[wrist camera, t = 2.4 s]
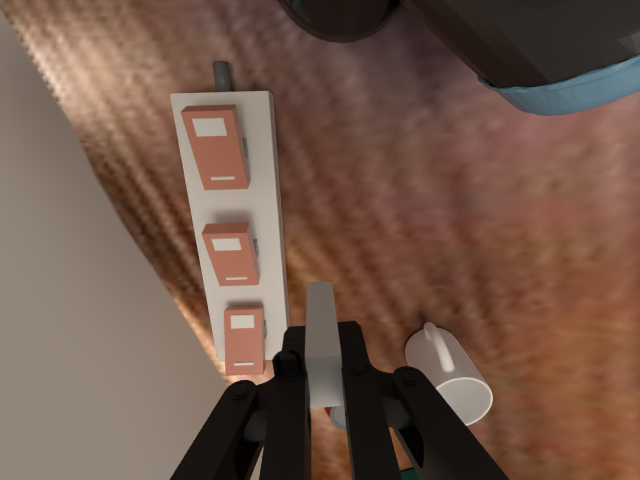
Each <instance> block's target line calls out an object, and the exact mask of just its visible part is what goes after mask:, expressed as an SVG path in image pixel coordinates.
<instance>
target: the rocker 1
mask: <svg viewBox="0 0 640 480" xmlns="http://www.w3.org/2000/svg"><path fill="white" fill-rule="evenodd" d="M181 116H182V119H183V122H184V125H185V129H186V132H187V135H188V138H189V142H190V145H191V148H192V152H193V155H194V158H195V161H196V165H197V168H198V171H199V174H200V178H201V181H202V184H203V187H204V190H231V189H248V187H249V183H250V176H249V171H248V166H247V160H246V155H245V150H244V144H243V139H242V134H241V129H240V123H239V118H238V113H237V107H236V104H233V105H198V106H186V107H185V108H184V109H183V110H182V111H181Z"/></svg>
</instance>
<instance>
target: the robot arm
mask: <svg viewBox="0 0 640 480" xmlns="http://www.w3.org/2000/svg"><path fill="white" fill-rule="evenodd" d="M280 2H281V4H282V6H283V7H284V9H285V10H286V12H287V13H288V14H289V16H290V17H291V18H292V19H293V20H294V21H295V22H296V23H297V24H298V25H299V26H300V27H301V28H302V29H304V30H305V31H307V32H308V33H310V34H311V35H313V36H315V37H317V38H320V39H323V40H326V41H330V42H339V43H344V42H353V41H357V40H360V39H363V38H366V37H368V36H370V35H372V34H374V33H375V32H377V31H378V30H380V29H381V28H382V27H384V26H385V25H386V24H387V23H388V22H389V21H390V20H391V19H392V18H393V17H394V16H395V14H396V13H397V12H398V10H399V9H400V8H401V6H402V5H404V6H405V7H406V8H407V9H408V10H409V11H410V12H411V13H413V14H414V15H415V16H416V17H417V18H418V19H419V20H420V21H421V22H422V23H423V24H424V25H425V26H426V27H427V28H428V29H429V30H430V31H432V32H433V33H434V34H435V35H436V36H437V37H438V38H439V39H440V40H441V41H442V42H443V43H444V44H445V45H446V46H447V47H448V48H449V49H451V50H452V51H453V52H454V53H455V54H456V55H457V56H458V57H459V58H460V59H461V60H462V61H463V62H464V63H465V64H466V65H467V66H468V67H469V68H471V69H472V70H473V71H474V72H475V73H476V74H477V75H478V80H479V81H480V82H481V83H482V84H483V85H484V86H485V87H487V88H488V89H491V90H493V91H496V92H498V93H499V94H500V95H501V96H502V97H504V98H505V99H506V100H507V101H508V102H510V103H511V104H512V105H513V106H514V107H516V108H517V109H519V110H521V111H523V112H526V113H533V114H536V115H543V116H555V115H565V114H571V113H577V112H581V111H585V110H589V109H592V108H596V107H599V106H602V105H605V104H607V103H610V102H613V101H616V100H618V99H621V98H623V97H626V96H628V95H631V94H633V93H635V92H637V91H640V0H280ZM272 363H273V369H274V375H275V376H274V377H273V378H272V379H270V380H269V381H267V382H265V383H262V384H259V385H255V384H254V383H253V382H252V381H249V380H240V381H237V382H235V383H233V384H232V385H230V386H229V387H228V388H227V389H226V390H225V392H224V393H223V395H222V397H221V398H220V400H219V401H218V403H217V405H216V406H215V408H214V409H213V411H212V413H211V414H210V416H209V417H208V419H207V421H206V422H205V424H204V425H203V427H202V429H201V430H200V432H199V433H198V435H197V437H196V438H195V440H194V441H193V443H192V445H191V446H190V448H189V449H188V451H187V453H186V454H185V456H184V458H183V459H182V461H181V463H180V464H179V466H178V467H177V469H176V470H175V472H174V474H173V475H172V477H171V478H170V480H250V478H251V475H252V473H253V470H254V467H255V465H256V463H257V460H258V458H259V455H260V452H261V450H262V447H263V445H264V450H263V456H262V463H261V470H260V476H259V480H311V413H310V407H311V408H321V407H334V406H344V407H345V422H346V430H347V437H348V446H349V455H350V464H351V473H352V480H402V477H401V474H400V470H399V466H398V462H397V458H396V454H395V450H394V446H393V443H392V439H391V435H390V431H389V427H392V428H393V429H394V432H395V434H396V436H397V437H398V439H399V441H400V443H401V445H402V447H403V448H404V450H405V452H406V454H407V456H408V458H409V460H410V461H411V463H412V465H413V467H414V469H415V471H416V472H417V474H418V476H419V478H420V480H509V478H508V477H507V476H506V475H505V474H504V472H503V471H502V470H501V469H500V467H499V466H498V465H497V464H496V462H495V461H494V460H493V459H492V457H491V456H490V455H489V454H488V452H487V451H486V450H485V449H484V448H483V446H482V445H481V444H480V443H479V441H478V440H477V439H476V438H475V436H474V435H473V434H472V433H471V431H470V430H469V429H468V428H467V426H466V425H465V424H464V423H463V422H462V420H461V419H460V418H459V417H458V415H457V414H456V413H455V412H454V410H453V409H452V408H451V407H450V405H449V404H448V403H447V402H446V400H445V399H444V398H443V397H442V395H441V394H440V393H439V392H438V391H437V389H436V388H435V387H434V386H433V384H432V383H431V382H430V381H429V379H428V378H427V377H426V376H425V374H424V373H422V372H421V371H420V370H419V369H416V368H414V367H410V366H403V367H400V368H397V369H396V370H395V371H394V372H393V374H392V373H386V372H382V371H380V370H378V369H376V368H374V367H373V366H372V365H371V363H370V361H369V358H368V354H367V350H366V346H365V342H364V338H363V335H362V330H361V326H360V325H359V324H358V323H357V322H356V321H348V322H337V318H336V310H335V303H334V295H333V288H332V281H322V282H310V283H307V306H306V326H294V327H288V329H287V330H286V331H285V333H284V336H283V343H282V350H281V351H279V352H278V353H277V354H276V355H275V356H274V357H273V359H272ZM264 442H265V443H264Z"/></svg>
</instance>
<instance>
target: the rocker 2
mask: <svg viewBox="0 0 640 480" xmlns="http://www.w3.org/2000/svg"><path fill="white" fill-rule="evenodd" d="M202 237H203V240H204V243H205V246H206V249H207V252H208V254H209V257H210V260H211V263H212V266H213V269H214V271H215V274H216V277H217V280H218V283H219V286H247V285H258V284H259V279H260V270H259V266H258V261H257V256H256V252H255V247H254V242H253V238H252V233H251V228H250V224H249V222H240V223H208V224H206V225H205V227H204V229H203V232H202Z"/></svg>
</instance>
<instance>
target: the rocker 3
mask: <svg viewBox="0 0 640 480" xmlns="http://www.w3.org/2000/svg"><path fill="white" fill-rule="evenodd" d="M224 337H225V368H226V376H230V375H258V374H263V373H264V371H265V369H266V362H265V331H264V306H254V307H228V308H227V309H225V310H224Z"/></svg>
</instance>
